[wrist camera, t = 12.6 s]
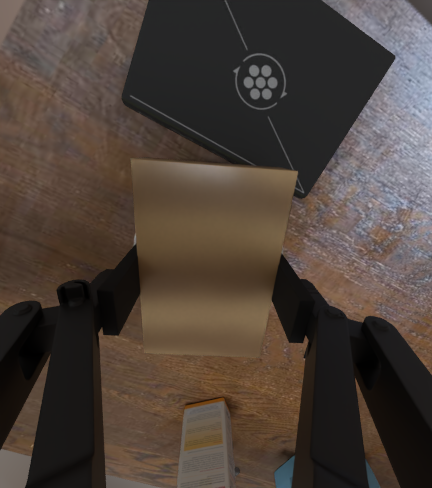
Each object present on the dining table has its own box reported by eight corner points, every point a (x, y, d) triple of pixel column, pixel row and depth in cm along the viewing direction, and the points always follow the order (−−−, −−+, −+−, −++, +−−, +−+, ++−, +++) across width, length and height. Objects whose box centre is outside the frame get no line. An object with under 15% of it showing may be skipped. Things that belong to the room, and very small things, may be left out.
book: (130, 108, 24) (119, 102, 21) (183, -71, 19) (178, -109, 16) (294, 196, 28) (304, 201, 25) (374, 68, 23) (397, 56, 20)
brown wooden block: (145, 157, 14) (129, 158, 11) (282, 167, 15) (298, 171, 12) (153, 325, 20) (143, 353, 17) (253, 329, 20) (259, 358, 17)
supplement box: (192, 418, 45) (184, 516, 33) (184, 404, 43) (173, 502, 31) (231, 411, 44) (238, 508, 32) (224, 396, 42) (230, 493, 30)
